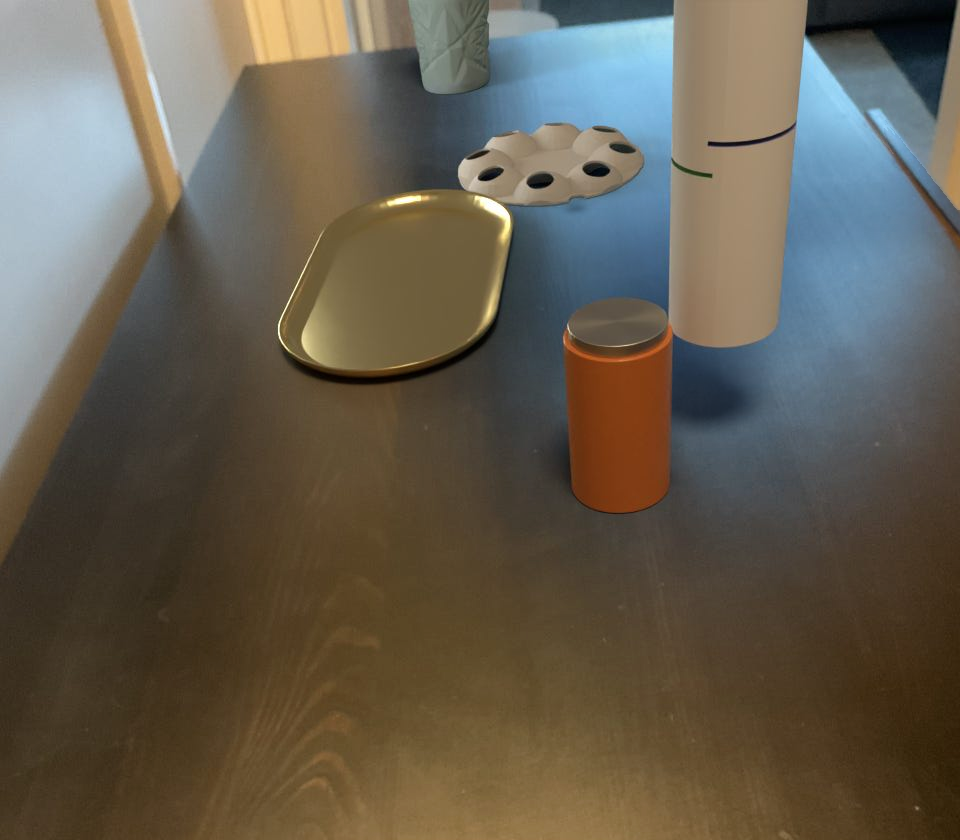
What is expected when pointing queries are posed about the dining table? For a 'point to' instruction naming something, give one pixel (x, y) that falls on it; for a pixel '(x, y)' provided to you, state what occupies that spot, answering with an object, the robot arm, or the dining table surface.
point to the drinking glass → (452, 44)
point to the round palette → (551, 164)
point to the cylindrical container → (731, 164)
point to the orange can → (619, 403)
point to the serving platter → (400, 284)
